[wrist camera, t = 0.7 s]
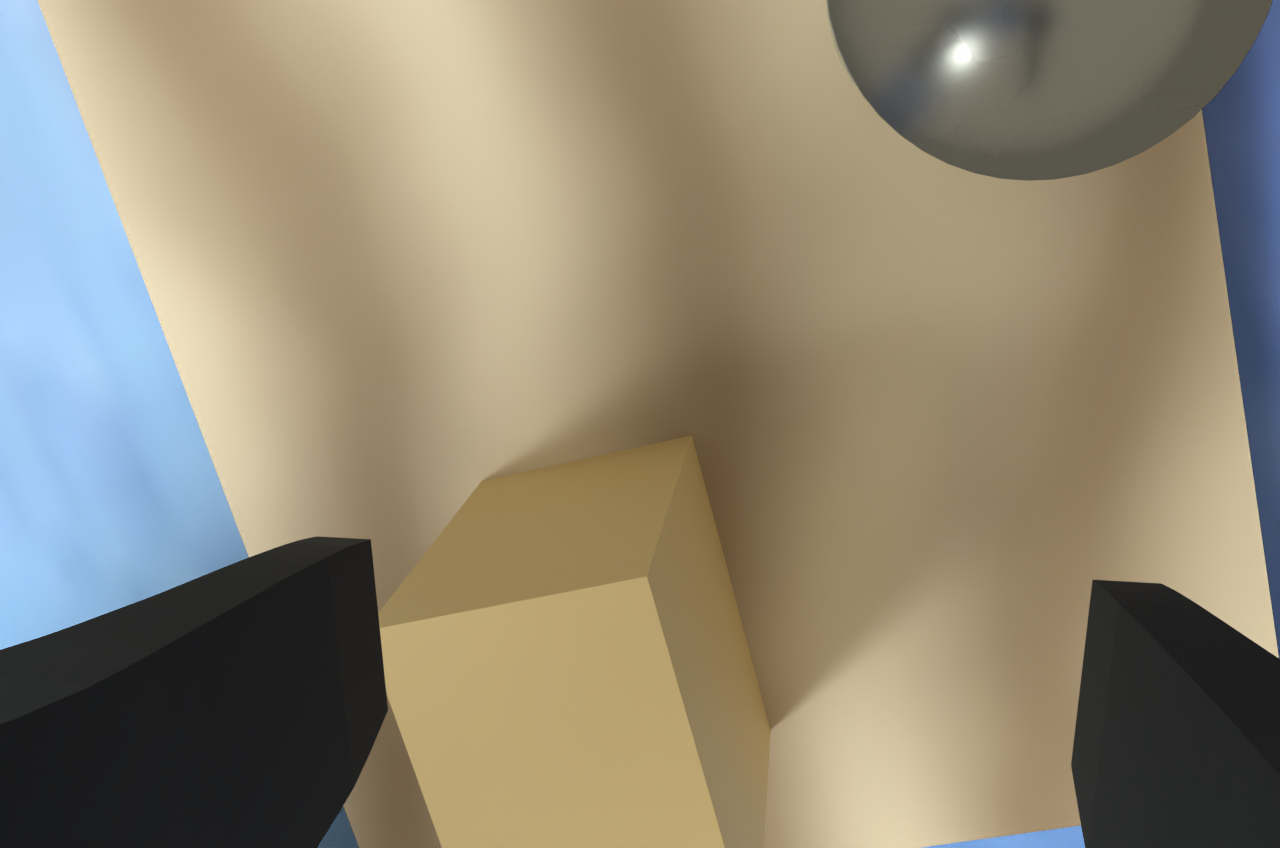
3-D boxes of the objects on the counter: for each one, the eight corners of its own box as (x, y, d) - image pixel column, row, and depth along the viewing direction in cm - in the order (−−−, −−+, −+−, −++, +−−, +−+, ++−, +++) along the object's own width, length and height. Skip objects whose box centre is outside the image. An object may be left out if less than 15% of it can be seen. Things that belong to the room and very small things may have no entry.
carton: (771, 730, 22) (756, 958, 17) (568, 763, 23) (490, 991, 17) (691, 435, 21) (647, 576, 15) (479, 481, 22) (360, 631, 16)
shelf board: (405, 883, 26) (344, 1007, 23) (12, -176, 21) (-147, -223, 17) (1273, 758, 22) (1356, 883, 19) (1079, -573, 17) (1146, -733, 13)
